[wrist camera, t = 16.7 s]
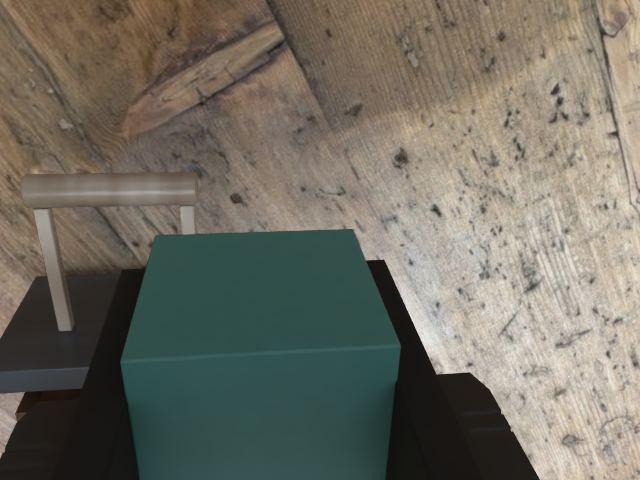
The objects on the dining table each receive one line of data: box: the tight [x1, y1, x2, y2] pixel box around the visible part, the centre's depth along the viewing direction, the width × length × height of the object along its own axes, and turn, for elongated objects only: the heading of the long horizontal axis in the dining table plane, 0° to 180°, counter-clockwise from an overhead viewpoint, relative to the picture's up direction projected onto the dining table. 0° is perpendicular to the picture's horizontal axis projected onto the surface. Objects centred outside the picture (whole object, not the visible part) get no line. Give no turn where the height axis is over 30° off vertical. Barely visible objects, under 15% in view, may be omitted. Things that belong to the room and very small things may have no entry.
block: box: [120, 229, 401, 480], centre depth 12 cm, size 4×4×4 cm
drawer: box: [0, 172, 199, 422], centre depth 30 cm, size 21×12×8 cm, turn 178°
